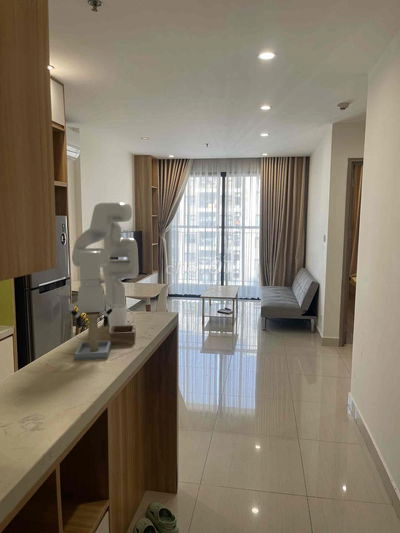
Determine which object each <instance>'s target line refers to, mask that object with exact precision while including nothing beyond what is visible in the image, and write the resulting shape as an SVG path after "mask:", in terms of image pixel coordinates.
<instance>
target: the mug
mask: <svg viewBox="0 0 400 533" xmlns="http://www.w3.org/2000/svg"><path fill="white" fill-rule="evenodd" d="M109 309H110V306H109ZM128 312H129V313H130V314H131V315H132V317H133V318H132V321H131V322H130V323H129V322H127V317H128ZM134 322H135V314H134V311H132V310H130V309H129V308H127V305H126V304H125V305H115V306H114V308H113V310H112V312H111V313H110V314H109V324H108V325H109V334H110V332H111V329H112V326H127V325H133V324H134Z"/></svg>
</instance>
